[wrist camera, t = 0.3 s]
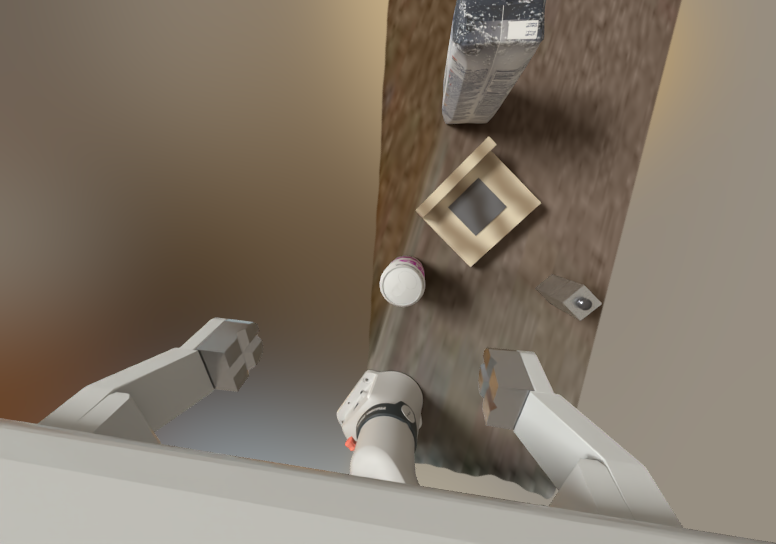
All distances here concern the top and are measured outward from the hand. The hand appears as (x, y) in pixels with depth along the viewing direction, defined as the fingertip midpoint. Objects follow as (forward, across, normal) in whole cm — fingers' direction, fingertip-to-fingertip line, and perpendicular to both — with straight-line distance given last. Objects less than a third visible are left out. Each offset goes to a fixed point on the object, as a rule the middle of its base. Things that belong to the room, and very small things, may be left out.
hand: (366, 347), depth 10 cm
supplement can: (+48, -1, -24) cm, 53 cm away
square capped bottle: (+47, +31, -24) cm, 61 cm away
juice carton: (+60, +9, +10) cm, 61 cm away
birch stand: (+53, +12, -9) cm, 55 cm away
